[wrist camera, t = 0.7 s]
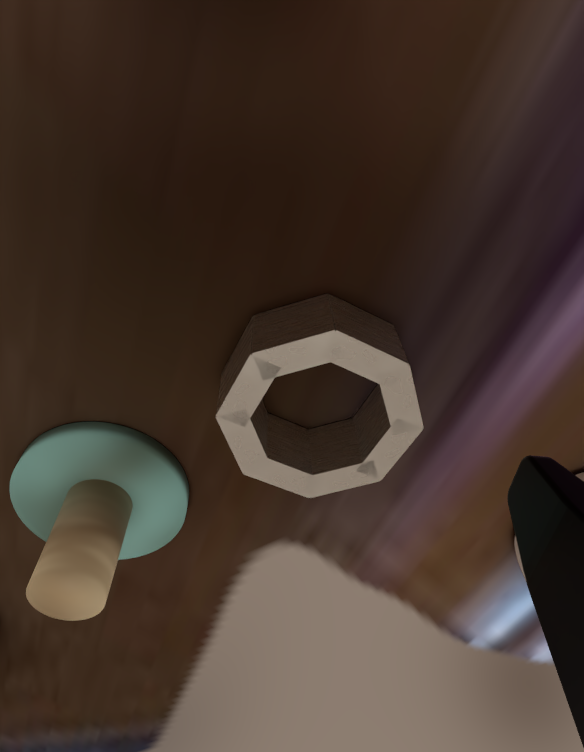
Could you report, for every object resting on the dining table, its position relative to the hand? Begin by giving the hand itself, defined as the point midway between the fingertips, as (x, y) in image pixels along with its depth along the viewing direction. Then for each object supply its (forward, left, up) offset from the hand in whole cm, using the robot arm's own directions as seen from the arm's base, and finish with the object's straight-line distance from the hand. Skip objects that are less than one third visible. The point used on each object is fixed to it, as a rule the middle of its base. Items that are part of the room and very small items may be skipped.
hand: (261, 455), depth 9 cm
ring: (-5, +5, -13) cm, 14 cm away
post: (+1, +15, -13) cm, 20 cm away
